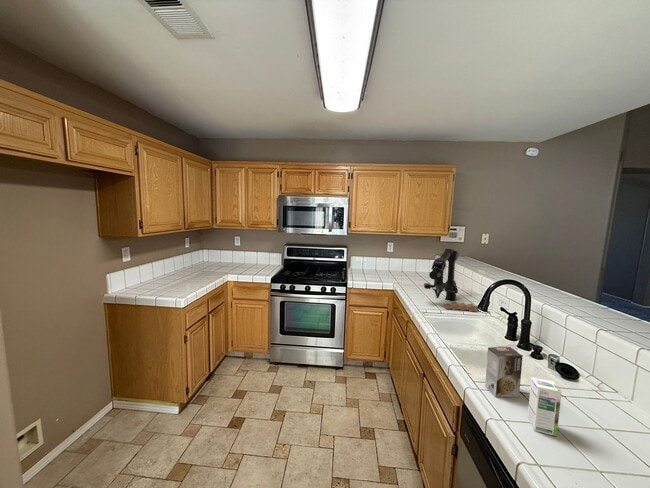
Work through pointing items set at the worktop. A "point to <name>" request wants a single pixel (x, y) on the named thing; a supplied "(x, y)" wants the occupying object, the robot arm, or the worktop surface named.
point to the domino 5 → (482, 312)
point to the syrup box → (544, 406)
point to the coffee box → (503, 371)
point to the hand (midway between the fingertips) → (437, 298)
